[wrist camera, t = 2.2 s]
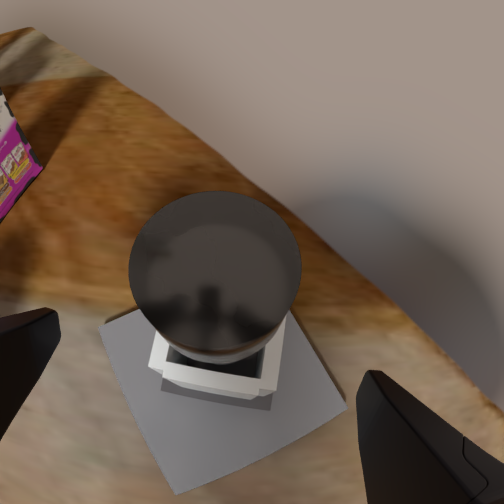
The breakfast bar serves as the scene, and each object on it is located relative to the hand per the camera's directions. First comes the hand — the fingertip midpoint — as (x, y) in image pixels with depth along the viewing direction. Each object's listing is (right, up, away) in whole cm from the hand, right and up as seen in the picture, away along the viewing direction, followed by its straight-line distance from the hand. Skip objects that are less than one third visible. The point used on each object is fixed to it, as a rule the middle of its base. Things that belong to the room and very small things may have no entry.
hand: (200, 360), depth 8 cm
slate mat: (-1, -5, +11) cm, 12 cm away
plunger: (0, -1, +7) cm, 7 cm away
